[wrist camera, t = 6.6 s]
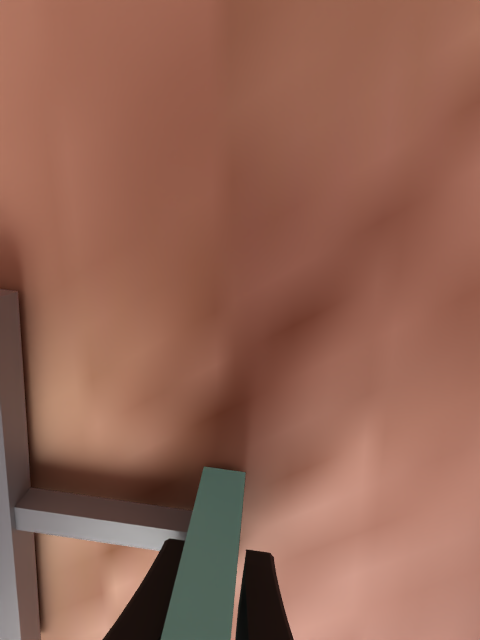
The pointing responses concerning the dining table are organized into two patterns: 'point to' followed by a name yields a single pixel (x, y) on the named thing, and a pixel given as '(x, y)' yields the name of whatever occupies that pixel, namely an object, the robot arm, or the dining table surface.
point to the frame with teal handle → (108, 522)
